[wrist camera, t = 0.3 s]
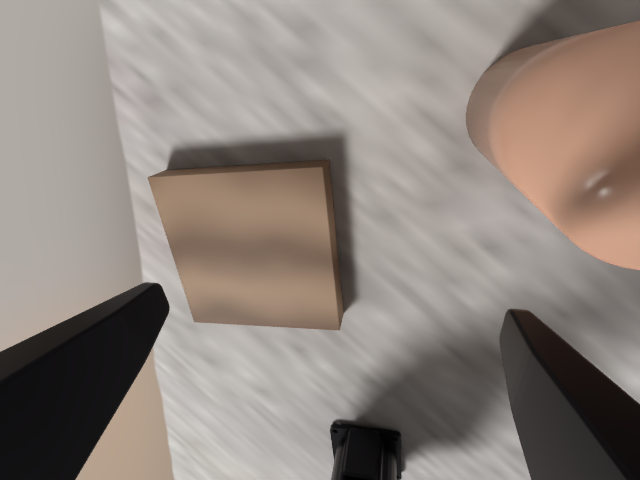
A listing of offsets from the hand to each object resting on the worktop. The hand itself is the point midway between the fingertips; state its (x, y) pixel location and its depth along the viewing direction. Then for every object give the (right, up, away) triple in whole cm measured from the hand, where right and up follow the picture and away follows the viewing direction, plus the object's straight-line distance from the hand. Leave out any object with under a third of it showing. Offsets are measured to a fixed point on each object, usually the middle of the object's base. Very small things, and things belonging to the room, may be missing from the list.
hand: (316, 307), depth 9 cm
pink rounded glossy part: (+11, +9, +9) cm, 17 cm away
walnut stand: (-5, +1, +17) cm, 17 cm away
